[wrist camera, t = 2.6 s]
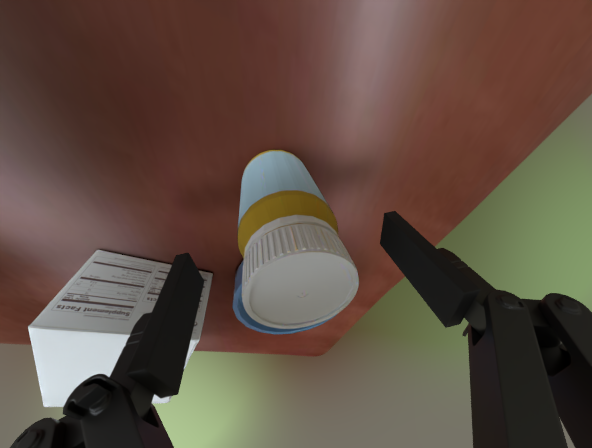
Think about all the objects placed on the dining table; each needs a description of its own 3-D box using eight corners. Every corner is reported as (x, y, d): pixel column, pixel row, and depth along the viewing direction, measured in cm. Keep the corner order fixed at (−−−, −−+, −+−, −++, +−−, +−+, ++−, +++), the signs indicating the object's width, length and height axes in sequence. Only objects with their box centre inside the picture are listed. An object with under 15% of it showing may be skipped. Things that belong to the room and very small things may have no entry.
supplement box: (94, 247, 24) (21, 326, 16) (214, 271, 29) (202, 340, 21) (89, 330, 31) (38, 411, 24) (185, 337, 36) (169, 405, 29)
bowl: (211, 263, 28) (205, 291, 24) (324, 214, 27) (335, 236, 23) (266, 319, 38) (267, 345, 34) (351, 285, 36) (362, 308, 33)
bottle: (293, 214, 26) (331, 334, 14) (235, 200, 24) (219, 331, 11) (316, 160, 23) (393, 257, 10) (252, 137, 20) (254, 229, 8)
